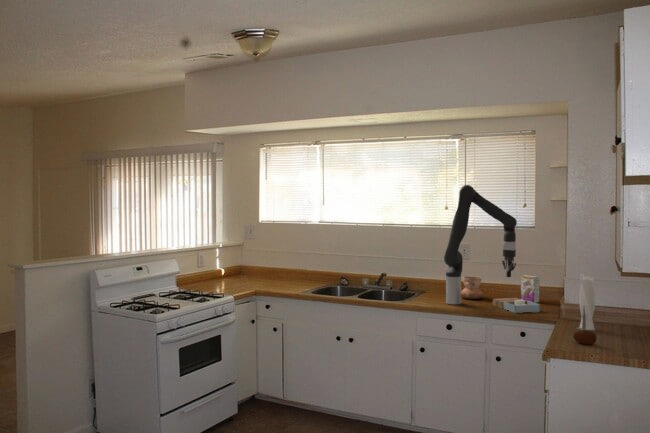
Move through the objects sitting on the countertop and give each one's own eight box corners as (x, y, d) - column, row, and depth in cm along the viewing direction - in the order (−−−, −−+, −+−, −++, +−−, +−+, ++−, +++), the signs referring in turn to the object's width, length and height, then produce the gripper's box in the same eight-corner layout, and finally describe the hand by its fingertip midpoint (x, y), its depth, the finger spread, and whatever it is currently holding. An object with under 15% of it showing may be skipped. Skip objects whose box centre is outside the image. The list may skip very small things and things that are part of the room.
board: (492, 305, 348) (492, 298, 348) (516, 304, 351) (516, 297, 351) (503, 309, 335) (503, 302, 335) (527, 307, 338) (527, 301, 338)
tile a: (514, 300, 334) (517, 300, 331) (522, 299, 335) (524, 300, 332) (514, 308, 334) (517, 309, 331) (522, 308, 335) (524, 308, 332)
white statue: (574, 327, 286) (574, 273, 285) (589, 327, 286) (589, 272, 286) (583, 331, 277) (583, 275, 277) (598, 331, 278) (599, 274, 277)
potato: (592, 347, 247) (592, 332, 247) (570, 343, 253) (570, 329, 253) (598, 344, 252) (598, 330, 251) (577, 340, 258) (577, 326, 258)
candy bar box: (520, 300, 363) (520, 275, 363) (525, 299, 365) (525, 274, 365) (534, 303, 353) (534, 277, 353) (539, 302, 356) (539, 276, 355)
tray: (503, 309, 335) (503, 301, 335) (527, 307, 338) (528, 300, 338) (515, 313, 322) (515, 305, 322) (540, 312, 325) (540, 304, 325)
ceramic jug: (476, 301, 361) (477, 279, 361) (455, 298, 371) (456, 277, 370) (487, 298, 375) (488, 276, 375) (467, 295, 385) (468, 274, 384)
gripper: (498, 247, 349) (497, 275, 350) (509, 250, 337) (508, 278, 337) (509, 247, 351) (508, 275, 352) (520, 249, 338) (520, 278, 339)
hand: (508, 277), depth 344 cm, fingers closed
